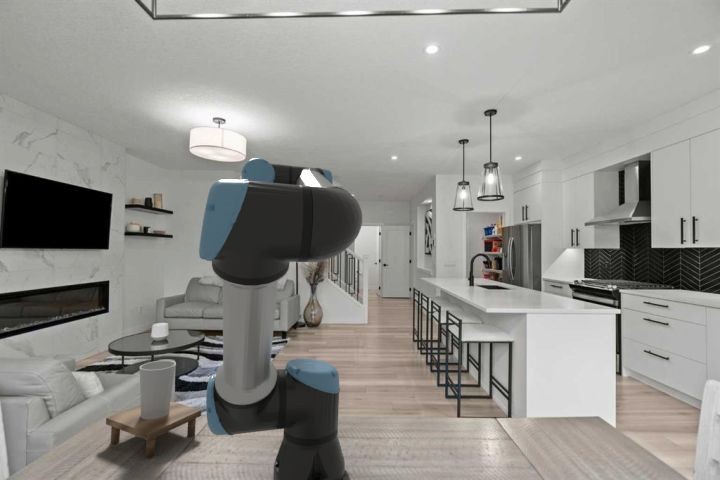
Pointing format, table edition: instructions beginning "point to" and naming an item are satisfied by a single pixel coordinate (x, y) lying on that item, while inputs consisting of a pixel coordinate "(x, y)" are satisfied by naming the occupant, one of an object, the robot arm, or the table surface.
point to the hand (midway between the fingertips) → (252, 298)
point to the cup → (156, 388)
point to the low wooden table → (152, 424)
